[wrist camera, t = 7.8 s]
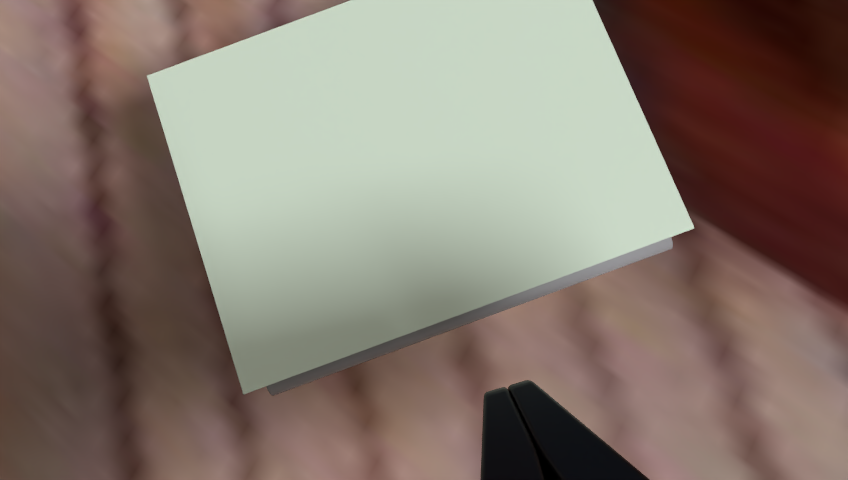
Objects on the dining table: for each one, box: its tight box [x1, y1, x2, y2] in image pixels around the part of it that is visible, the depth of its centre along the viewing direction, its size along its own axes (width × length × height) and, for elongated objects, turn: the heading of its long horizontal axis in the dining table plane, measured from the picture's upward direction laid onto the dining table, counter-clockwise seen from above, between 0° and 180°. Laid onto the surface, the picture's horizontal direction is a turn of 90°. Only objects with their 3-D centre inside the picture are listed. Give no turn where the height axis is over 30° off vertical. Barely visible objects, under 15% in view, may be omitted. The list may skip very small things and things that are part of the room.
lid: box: [147, 0, 694, 395], centre depth 14 cm, size 9×12×1 cm
